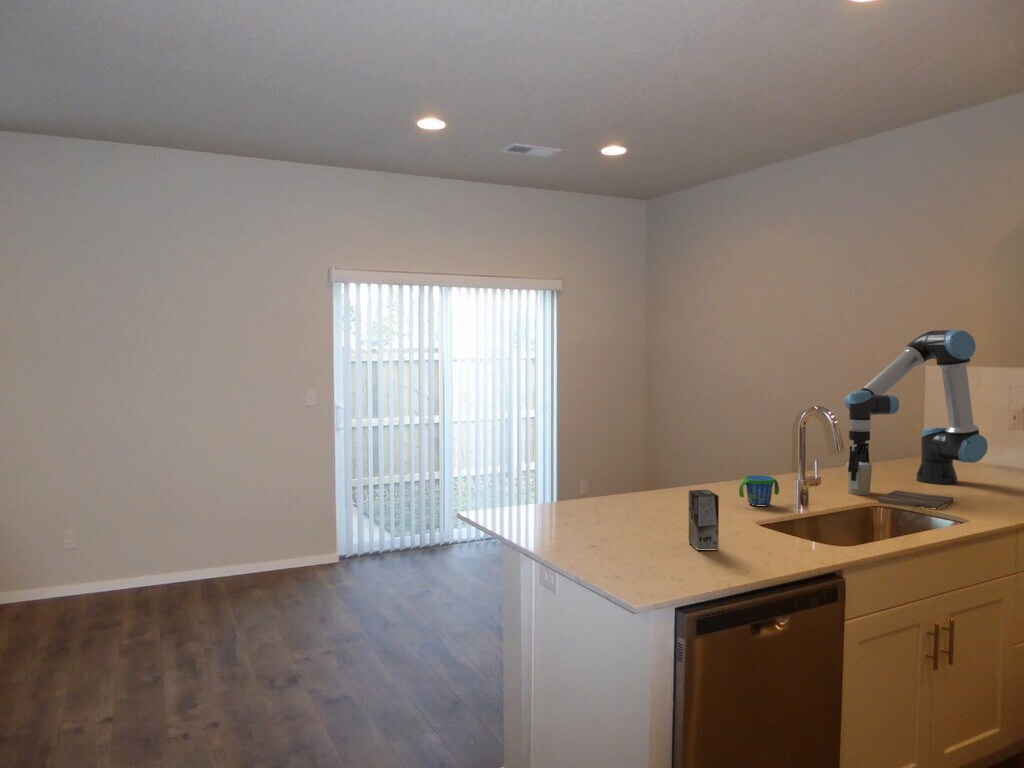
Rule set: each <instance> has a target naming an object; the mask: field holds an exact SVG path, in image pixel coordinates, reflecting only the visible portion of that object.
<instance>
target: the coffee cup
mask: <svg viewBox="0 0 1024 768" xmlns="http://www.w3.org/2000/svg"><path fill="white" fill-rule="evenodd" d="M845 465H846V466H845V467H846V482H847V483H846V484H847V493H848V494H850V495H854V494H856V495H855V496H868V495H870V492H871V484H872V483H871V482H872V471H873V470H872V468H873V465H872V463H871V462H869V463H868V462H860V461H859V465H858V473H859V476H858V489H850V480H851V472H848V467H849V461H847V462H846V464H845Z"/></svg>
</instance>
